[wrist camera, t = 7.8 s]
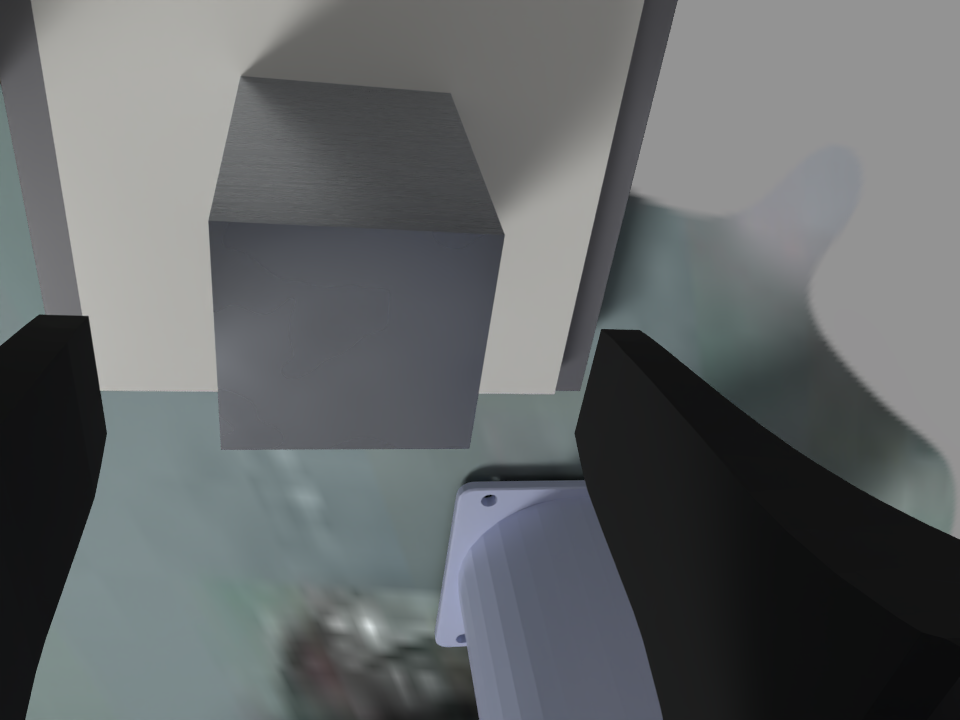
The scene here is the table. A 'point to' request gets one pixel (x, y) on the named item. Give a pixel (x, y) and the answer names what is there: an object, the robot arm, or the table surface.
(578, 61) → the dial scale
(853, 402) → the table surface
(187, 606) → the table surface
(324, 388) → the block
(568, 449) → the table surface
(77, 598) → the table surface
